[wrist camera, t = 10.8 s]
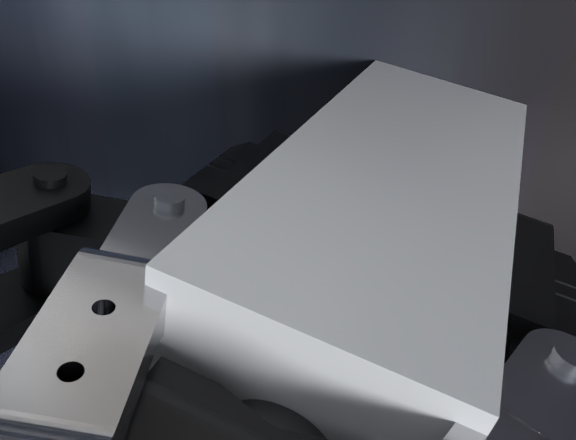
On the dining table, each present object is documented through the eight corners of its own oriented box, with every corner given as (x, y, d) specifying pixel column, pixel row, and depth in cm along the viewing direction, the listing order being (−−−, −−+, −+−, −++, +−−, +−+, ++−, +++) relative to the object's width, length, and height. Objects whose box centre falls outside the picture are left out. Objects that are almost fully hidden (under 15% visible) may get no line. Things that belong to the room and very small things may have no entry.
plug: (526, 105, 14) (486, 569, 4) (469, 233, 16) (354, 735, 6) (375, 60, 15) (48, 351, 5) (341, 187, 17) (67, 562, 7)
